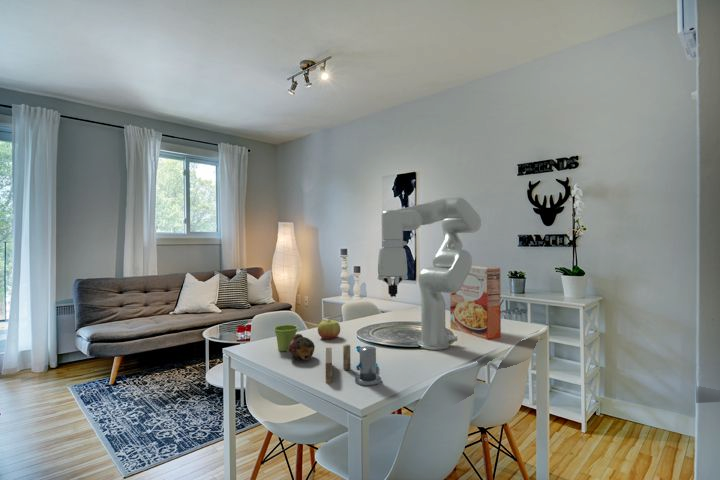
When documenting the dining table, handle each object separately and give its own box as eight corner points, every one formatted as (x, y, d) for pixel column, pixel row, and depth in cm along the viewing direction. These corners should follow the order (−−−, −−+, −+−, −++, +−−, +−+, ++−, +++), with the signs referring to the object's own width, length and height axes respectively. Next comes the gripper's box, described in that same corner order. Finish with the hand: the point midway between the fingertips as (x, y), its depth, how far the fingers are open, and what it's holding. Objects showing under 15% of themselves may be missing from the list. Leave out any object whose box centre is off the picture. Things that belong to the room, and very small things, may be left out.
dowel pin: (350, 367, 129) (350, 344, 129) (350, 370, 127) (350, 346, 127) (343, 368, 129) (343, 344, 129) (343, 370, 127) (343, 346, 127)
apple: (336, 334, 174) (336, 316, 174) (343, 339, 165) (343, 321, 165) (315, 336, 170) (315, 318, 170) (321, 342, 161) (320, 323, 161)
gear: (379, 369, 123) (357, 346, 124) (366, 382, 123) (344, 359, 124) (380, 362, 134) (360, 341, 135) (368, 374, 134) (348, 353, 135)
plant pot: (303, 349, 151) (302, 327, 151) (283, 354, 145) (283, 331, 144) (288, 344, 158) (288, 323, 158) (269, 349, 151) (269, 327, 151)
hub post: (379, 375, 122) (378, 344, 122) (382, 385, 114) (382, 352, 114) (354, 376, 121) (353, 345, 121) (356, 386, 113) (355, 353, 113)
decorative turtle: (306, 350, 149) (307, 330, 149) (320, 365, 136) (322, 343, 135) (282, 353, 144) (283, 332, 144) (294, 368, 131) (295, 345, 131)
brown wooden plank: (332, 364, 133) (331, 347, 133) (332, 382, 117) (332, 362, 117) (326, 364, 133) (326, 347, 132) (325, 382, 117) (325, 363, 116)
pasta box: (450, 328, 182) (450, 265, 182) (463, 326, 186) (462, 264, 185) (487, 339, 162) (486, 269, 161) (500, 337, 165) (500, 268, 165)
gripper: (410, 244, 140) (411, 294, 140) (370, 244, 139) (370, 295, 139) (415, 244, 133) (415, 297, 133) (372, 245, 132) (373, 298, 132)
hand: (392, 296), depth 136 cm, fingers closed
